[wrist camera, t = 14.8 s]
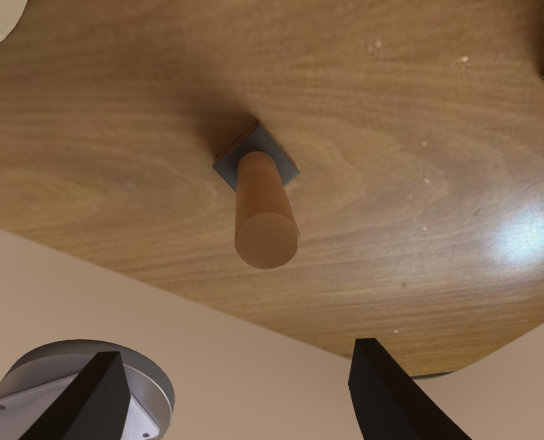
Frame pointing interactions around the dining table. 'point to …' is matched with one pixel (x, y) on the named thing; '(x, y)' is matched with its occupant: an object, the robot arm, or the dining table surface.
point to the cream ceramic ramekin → (10, 15)
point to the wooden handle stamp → (260, 197)
